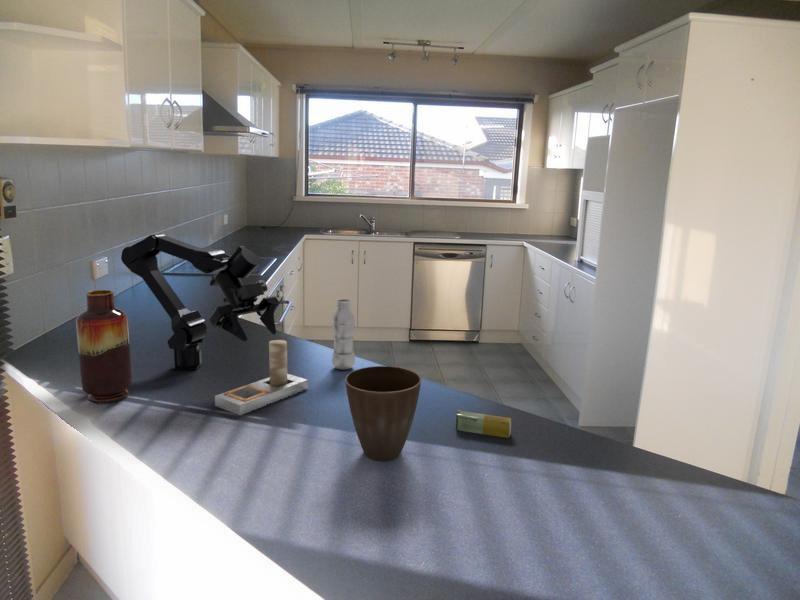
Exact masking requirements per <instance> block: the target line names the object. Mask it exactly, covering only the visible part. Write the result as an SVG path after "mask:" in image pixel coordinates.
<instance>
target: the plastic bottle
mask: <svg viewBox="0 0 800 600" xmlns="http://www.w3.org/2000/svg"><path fill="white" fill-rule="evenodd" d="M336 307H337V309H336V310H335V312H334V313H333V315H332V319H331V322H332V327H333V338H334V339H333V340H334V341H333V353H332V358H331V363H332V366H333V367H334V369H337V370H350V369H352V368H353V367H354V366H355V363H356V361H355V360H356V357H355V352H354V329H355V322H356V318H355V315H354V313H353V311H352V310H351V300H350V299H348V298H341V299H337V300H336Z"/></svg>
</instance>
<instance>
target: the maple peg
mask: <svg viewBox="0 0 800 600" xmlns="http://www.w3.org/2000/svg"><path fill="white" fill-rule="evenodd" d="M268 352H269V354H268V355H269V357H268V358H269V362H268V363H269V377H270V385H272V386H275V387H281V386H284V385H286V384H288V382H287V374H288V342H287V341H286V340H284V339H276V340H269V342H268Z"/></svg>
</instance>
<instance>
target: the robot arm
mask: <svg viewBox="0 0 800 600" xmlns="http://www.w3.org/2000/svg"><path fill="white" fill-rule="evenodd" d="M161 252H162V253H165V254H167V255H170V256H173V257H175V258H178V259H180V260H183V261H187V262H189V263H190V264H191V265H192V266H193V267H194V268H195V269H197V271H200V272H202V273H203V274H211V273H216V272H217V274H216V275H212V276H211V279H210V282H209V286H210V287H218V288H219V289H220V291H221V293H222V295H223V297H224V298H223V300H222V301H223V303H224V304H223V305H219V306H217V307H216V308H215V309H214V310H213V313H212V314H211V315H210V318H209V322H210V324H211V325H212V327H213V328H217V327H218V329H222V330H224V331H225V332H228V333H230V334H231V335H233V336H235V337H236V338H238V339H240V340H241V341H243V342H244V343H247V341H248V337H247V335H246V332H245V331H244V330H243V328H242V326H241V324H240V322H239V320H238V317H239V316H244V315H248V314H252V313H253V314H254V313H256V314H257V316H258V317H259V320H260V321H261V323H262V324H263V325H264V326H265V327H266V329H267V330H268V331H269V332H270V333H271V334H272V335H273V336H274V335H276V334H277V329H276V322H275V315H274V314H275V311H276V309H277V308H278V306H279V305H280V304H281V303H280V301H279V300H278V298H277V297H276V296H273V295H272V296H268V297H262V299H261V301H260V302H259V303H258V304H255V303H256V302H258V300H259V298H258V297H260V296H263V295H265V292H267V291H268V285H267V283H266V281H265V280H264V279H259V280H257V281H254V283H249V284H243V282H242V280H241V279H246V278H248V277H249V276H250V274H252V273H253V272H254V270H255V269H256V268H258V267H259V265H261V258H260V257H259V255H257V253H255V252H254V251H252V250H250V249H248V248H246V246H245V245H240V246H238V247H237V248H236V249H235V251H234V253H233V254H230V255H229V254H227V253H226V252H225V250H222V249H220V248H218V249H217V248H213V247H212V248H211V247H198V246H197V245H193V244H190V243H187V242H184V241H181V240H179V239H177V238H173V237H170V236H168V235H166V234H165V233H154V234H153V233H152V234H150V235H148V236H147V237H145V238H144V239H142V240H140V241H138V242H136V243H134V244H132V245H129V246H126V247H124V248H123V249H122V251H121V256H120V259H121V261H122V262H121V263H123V265H124V266H125V267H126V268H127V269H128V270H129V271H130V272H131V273H132V274H135V275H136V276H138V277H140V278H142V280H143V281H144V283H145V284H146V286H147V287H148V288H149V290H150V292H152V294H153V295H154V297H155V298H156V300H157V301H158V303H159V304H160V306H161V307H162V309H164V311H165V312H166V314H167V315H168V317H169V318H170V323H171V325H170V326H171V330H172V332H173V334H172V336H171V337H170V338H169V339H168V340H167V345H168V348H169V349H171V350H173V359H174V366H173V367H172V370H173V371H178V370H179V371H180V370H181V371H183V370H184V371H187V370H190V371H192V370H198V369H199V367H200V366H201V364H202V362H203V360H202V348H200V344H201V343H203V342H204V339H205V337H206V335H207V329H208V325H206V319H204V318H203V317H202V316H201V314H200V312H199V311H198V310H197V309H196V310H193V311H191V310H189V309H187V307H186V306H185V305H184V303H183V302H182V301H181V299H180V298H179V296H178V294H177V293H176V292H175V290H174V289H173V287H172V286H171V285H170V283H169V282H168V281H167V279H166V278H165V277H164V275H163V274H162V272H161V271H160V269H159V266H158V265H159V263H158V261H159V260H158V257H157V255H159V254H160V253H161ZM227 303H228V304H227Z"/></svg>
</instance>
